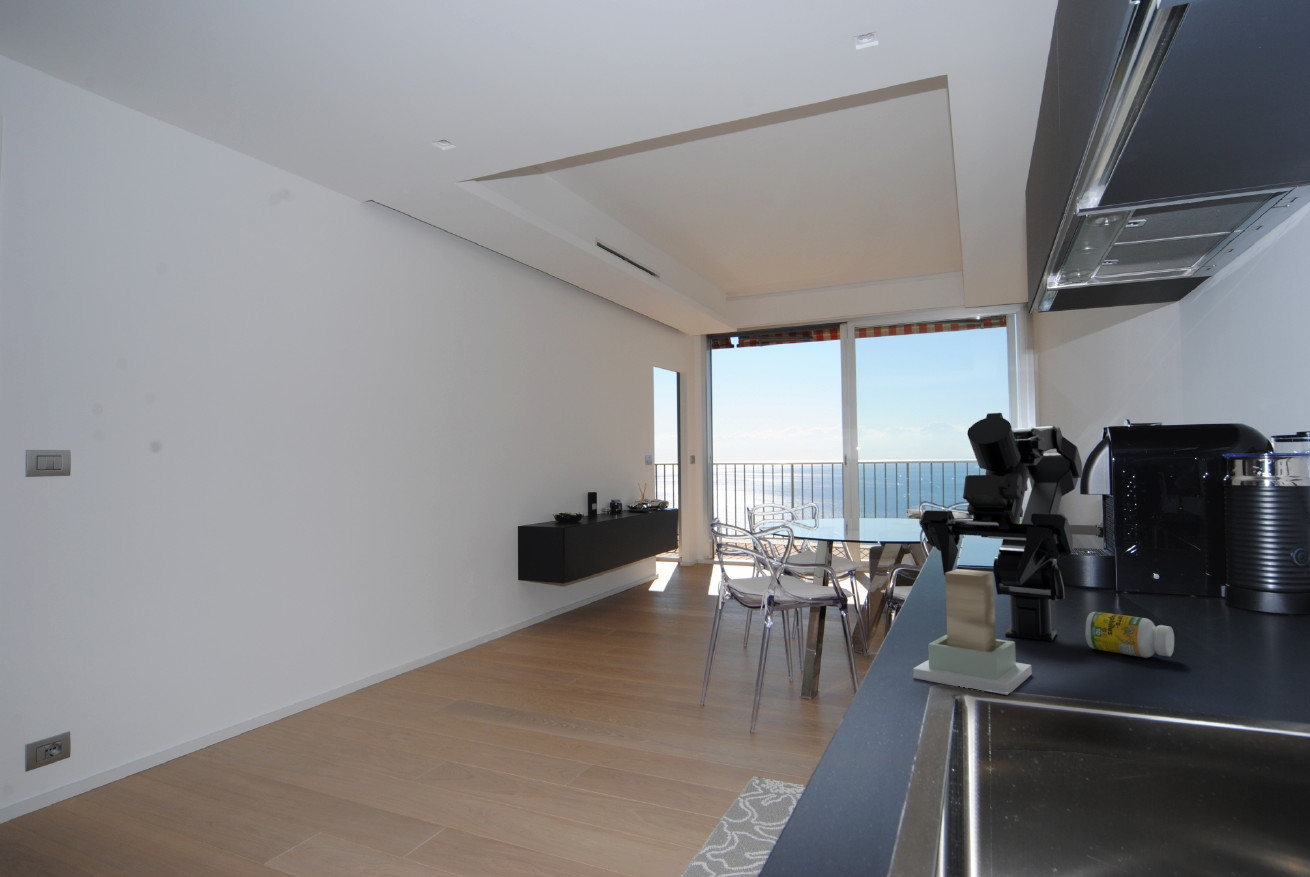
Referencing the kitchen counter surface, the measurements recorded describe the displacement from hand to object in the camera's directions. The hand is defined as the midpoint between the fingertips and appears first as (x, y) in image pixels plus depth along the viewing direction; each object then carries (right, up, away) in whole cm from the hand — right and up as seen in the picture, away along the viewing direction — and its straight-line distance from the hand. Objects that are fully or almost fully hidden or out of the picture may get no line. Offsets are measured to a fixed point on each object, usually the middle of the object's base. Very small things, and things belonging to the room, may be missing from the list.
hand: (981, 579), depth 92 cm
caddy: (-3, -12, -4) cm, 13 cm away
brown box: (-3, -10, -4) cm, 12 cm away
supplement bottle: (+20, -9, +9) cm, 24 cm away
